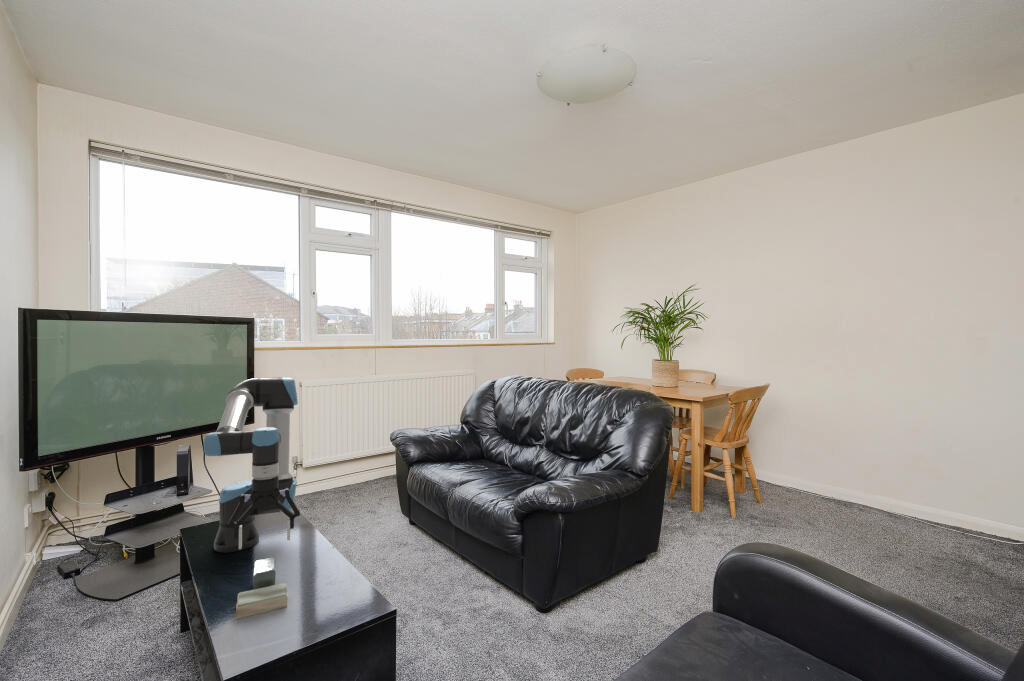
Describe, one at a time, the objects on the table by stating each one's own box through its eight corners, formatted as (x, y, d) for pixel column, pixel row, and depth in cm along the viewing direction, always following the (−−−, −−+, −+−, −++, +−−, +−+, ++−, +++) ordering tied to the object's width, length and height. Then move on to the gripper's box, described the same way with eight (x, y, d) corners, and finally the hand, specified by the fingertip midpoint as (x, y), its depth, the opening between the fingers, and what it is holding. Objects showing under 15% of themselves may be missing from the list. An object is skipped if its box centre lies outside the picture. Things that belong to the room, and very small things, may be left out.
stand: (238, 604, 136) (238, 592, 136) (286, 593, 143) (286, 581, 143) (236, 618, 129) (236, 606, 129) (287, 606, 135) (287, 594, 135)
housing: (254, 582, 149) (254, 560, 149) (275, 578, 152) (275, 556, 152) (253, 598, 140) (253, 574, 140) (275, 593, 143) (275, 569, 143)
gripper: (218, 485, 137) (217, 556, 137) (308, 474, 149) (308, 539, 148) (220, 478, 143) (220, 546, 143) (307, 468, 155) (306, 531, 155)
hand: (264, 543), depth 146 cm, fingers open, 13 cm apart
